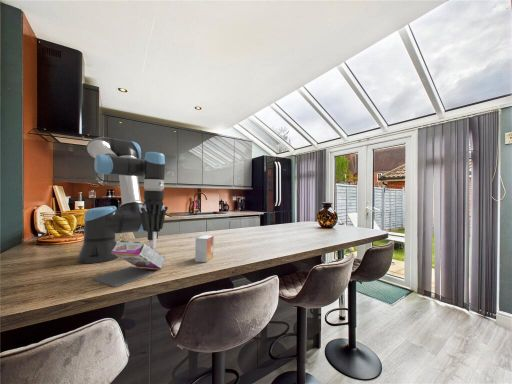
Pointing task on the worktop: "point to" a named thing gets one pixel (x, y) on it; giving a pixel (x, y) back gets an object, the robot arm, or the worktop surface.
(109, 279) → the mat
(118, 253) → the candy bar box
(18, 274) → the worktop surface
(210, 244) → the small box
